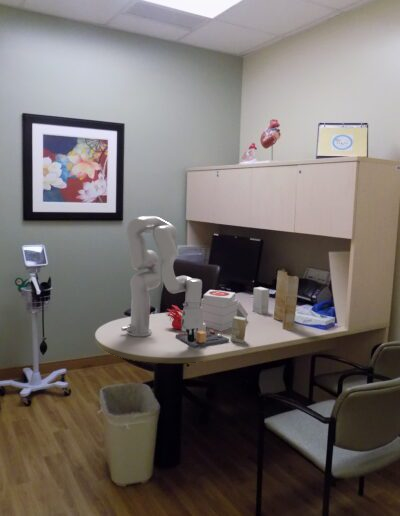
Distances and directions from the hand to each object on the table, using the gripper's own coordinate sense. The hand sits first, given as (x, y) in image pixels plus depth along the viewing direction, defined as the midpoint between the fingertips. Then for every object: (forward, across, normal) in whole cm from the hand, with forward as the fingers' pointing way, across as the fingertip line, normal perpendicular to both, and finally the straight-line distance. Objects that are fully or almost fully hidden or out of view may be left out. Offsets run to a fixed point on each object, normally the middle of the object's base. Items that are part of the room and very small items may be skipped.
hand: (190, 341), depth 229 cm
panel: (+3, +11, +6) cm, 13 cm away
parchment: (+3, +71, +9) cm, 72 cm away
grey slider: (+1, +6, +6) cm, 9 cm away
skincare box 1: (+3, +27, -3) cm, 28 cm away
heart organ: (+3, +9, +26) cm, 28 cm away
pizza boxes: (+3, +39, +25) cm, 46 cm away
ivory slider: (+1, +14, +12) cm, 19 cm away
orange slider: (+1, +6, 0) cm, 6 cm away
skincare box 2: (+3, +75, +34) cm, 83 cm away
